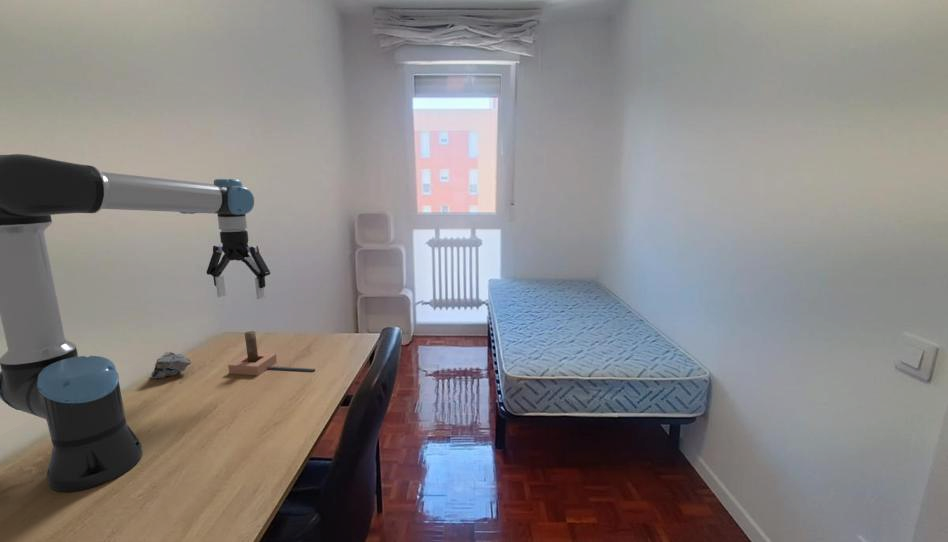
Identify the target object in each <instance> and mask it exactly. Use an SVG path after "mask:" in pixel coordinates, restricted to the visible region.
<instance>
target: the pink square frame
mask: <svg viewBox="0 0 948 542" xmlns="http://www.w3.org/2000/svg"><path fill="white" fill-rule="evenodd" d="M277 359H278V358H277V354H276V353H267V352H258V361H257V362H255V363H250V362H248V356H247V353H245V354H244V355H242V356H240V357H239V358H237V359H235V360H233V361H231V362H230V363H229V364H227V366H228V374H230V375H246V376H260V375H262V374H263V373H265V371H266V370H268V369H267V367H268V366H272V367H273V366H274V365H275V364H277V362H278V361H277Z"/></svg>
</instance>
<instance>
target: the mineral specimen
mask: <svg viewBox="0 0 948 542" xmlns="http://www.w3.org/2000/svg"><path fill="white" fill-rule="evenodd" d="M192 363H193V362H192V361H191V359H190V358H188V357H187V356H184V355H182V354H180V353H177V354H176V353H174V352H172V351H169V352H168V351H166V352H164V354H163V355H162V356H159V357H158V358H157V359H156V362H155V364H154V369H153V371H152V372H151V375H150V376H151V377H150V378H151V379H154V380H157V379H164V378H166V377H167V376H168V377H169V376H174V375H178V373H181V372H184V371H185V370H186V368H187V367H188V366H190V365H191V364H192Z"/></svg>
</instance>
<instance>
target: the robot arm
mask: <svg viewBox="0 0 948 542" xmlns="http://www.w3.org/2000/svg"><path fill="white" fill-rule="evenodd" d="M254 206H255V197H254V194H253V193H252V191H251V190H250V189H249V188H247V187H246V186H243V183H242V181H241V180H240V179H238V178H237V179H236V178H229V179H227V178H221V179H220V178H219V179H218V178H216V179H214V180H213V183H206V182H197V181H196V182H195V181H187V180H179V179H168V178H159V177H152V176H151V177H149V176H140V175H133V174H122V173H113V172H106V171H105V172H104V171H100V169H98V168H97V167H96V166H94V165H89V164H79V163H73V162H67V161H63V160H57V159H51V158H47V157H41V156H37V155H31V154H23V153H17V154H15V153H13V154H0V320H1V326H2V329H3V333H4V337H5V341H6V347H7V351H5V353H4V354H3V355H2V356H0V370H1V371H0V400H1V401H2V402H4V403H5V405H8V407H10V408H12V409H14V410H17V411H21V412H24V413H27V414H29V415H33V416H35V417H38V418H42V419H45V420H46V423H47V428H48V432H49V436H50V439H51V444H52V450H51V455H50V460H49V466H48V470H47V472H46V479H47V482H48V487H49V488H50V489H52V491H57V492H61V493H62V492H63V493H67V492H69V493H71V492H76V491H82V490H86V489H89V488H90V489H91V488H94V487H96V486H100V485H103V484H106V483H107V482H109V481H113V480H114V479H116V478H118V477H120V476H122V475H123V474H125V473H127V472H128V471H130V470H131V469H132V468H134V466H136V465H137V464H138V463H139V462H140V460H141V459H142V456H143V449H142V444H141V441H140V439H138V438H137V436H136V434H135V433H134V432H133V431H132V429H131V428H130V426H129V425H128V423H127V419H126V415H125V408H124V403H123V396H122V391H121V386H120V377H119V373H118V371H117V369H116V365H115V364H114V362H113V361H112V360H110V359H109V358H106V357H105V356H99V355H98V356H97V355H90V356H85V355H81V356H79V354H78V350H77V349H78V348H77V344H76V343H74V342H72V341H70V340H68V339H66V338H65V337H66V336H65V333H64V327H63V323H62V317H61V313H60V312H61V311H60V307H59V302H58V297H57V292H56V287H55V284H54V283H55V281H54V277H53V273H52V272H53V271H52V266H51V263H50V257H49V256H50V255H49V252H48V246H47V241H46V237H45V231H46V229H48V228H49V226H51V225H52V224H53V221H52V216H54V215H55V216H56V215H64V214H65V215H66V214H67V215H68V214H96V213H99V212H100V211H101V210H125V211H126V210H127V211H147V212H148V211H152V212H171V213H176V212H178V213H180V214H190V215H194V214H217V220H218V221H217V222H218V223H217V224H218V229H219V230H220V232H219V238H220V243H221V244H217V245H213V246H212V254H211V258H210V261H209V264H208V266H207V269H206V274H207V275H210V276H212V278H213V283H214V284H213V285H214V287H216V295H217V298H222V297H225V296H226V295H227V293H226V286H225V277H224V275H223V272H224V270H225V269H226V268H227V266H228V264H229V263H230V262H231V261H238V262H239V261H241V262H242V263H244V264H245V265H246V266H247V267H248V269H250V271H251V272H252V273H253V274H254V275H255V276H256V277H255V278H254V282H255V292H256V299H257V300H260V299H262V298H265V287H266V276H270V275H271V271H270V269H269V267H268V265H267V264H266V262H265V260H264V258H263V256H262V254H261V253H260V250H259V249H260V248H259V246H258V245H253V246H249V245H248V244H249V243H248V242H249V233H248V230H246V229H247V228H248V225H247V216H246V214H248V213H250V212H252V210H253V208H254ZM223 253H224V254H223ZM222 254H223V255H222Z"/></svg>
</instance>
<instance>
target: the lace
mask: <svg viewBox="0 0 948 542" xmlns="http://www.w3.org/2000/svg"><path fill="white" fill-rule="evenodd" d="M267 370H278V371H279V370H280V371H297V372H311V373H312V372H313V373H314V372H315V371H316V368H309V367H304V368H303V367H290V366H286V367H285V366H273V365H272V366H268V367H267Z"/></svg>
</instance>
